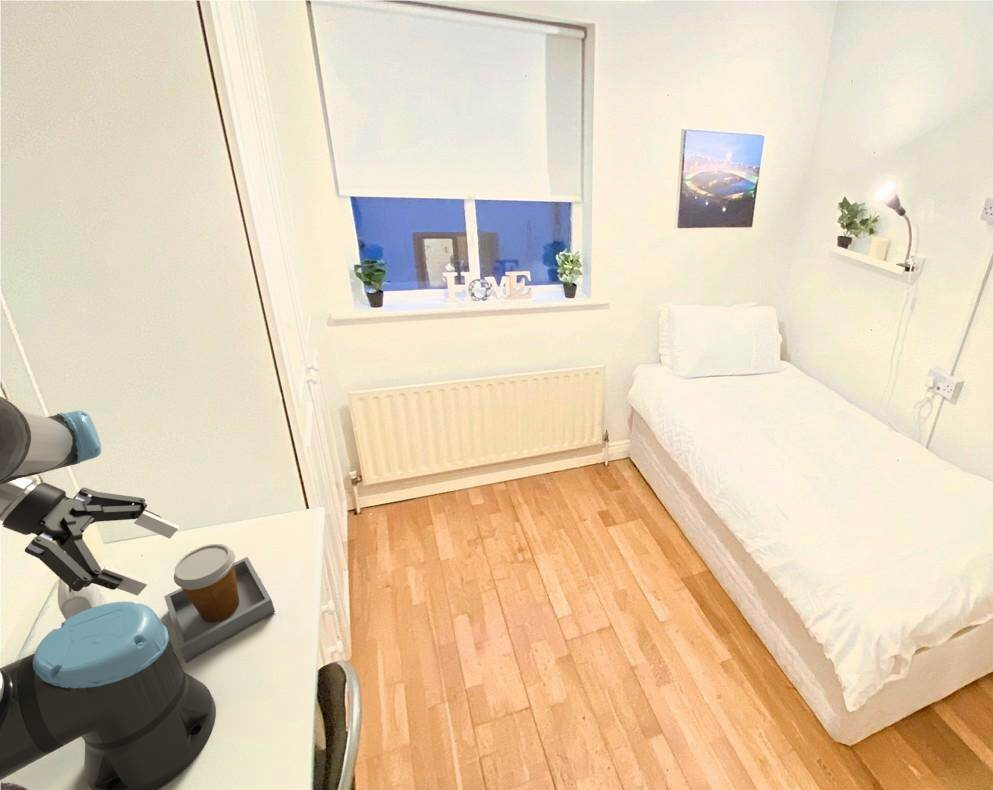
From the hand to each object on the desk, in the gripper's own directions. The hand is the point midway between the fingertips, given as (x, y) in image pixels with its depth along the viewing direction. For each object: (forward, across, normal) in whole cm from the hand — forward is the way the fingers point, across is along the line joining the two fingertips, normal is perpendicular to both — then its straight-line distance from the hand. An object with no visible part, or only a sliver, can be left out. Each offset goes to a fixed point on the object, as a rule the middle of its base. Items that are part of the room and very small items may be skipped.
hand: (160, 558), depth 80 cm
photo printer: (0, -1, -21) cm, 21 cm away
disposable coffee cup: (+14, +1, -5) cm, 15 cm away
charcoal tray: (+15, +1, -5) cm, 16 cm away
